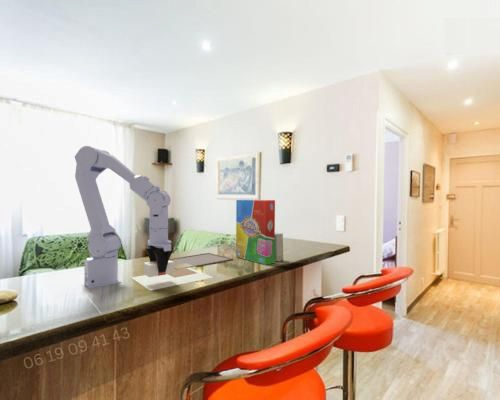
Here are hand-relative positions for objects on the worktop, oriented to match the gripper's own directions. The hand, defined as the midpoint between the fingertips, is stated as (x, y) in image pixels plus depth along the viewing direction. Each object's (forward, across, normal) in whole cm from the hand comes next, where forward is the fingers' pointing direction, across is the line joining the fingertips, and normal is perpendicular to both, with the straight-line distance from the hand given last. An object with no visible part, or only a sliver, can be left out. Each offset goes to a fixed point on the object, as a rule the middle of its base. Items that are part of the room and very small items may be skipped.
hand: (158, 270), depth 91 cm
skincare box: (+4, +1, -54) cm, 54 cm away
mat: (+4, +3, -6) cm, 8 cm away
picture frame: (+5, +22, -25) cm, 34 cm away
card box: (+1, 0, 0) cm, 1 cm away
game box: (+4, +7, -47) cm, 48 cm away
